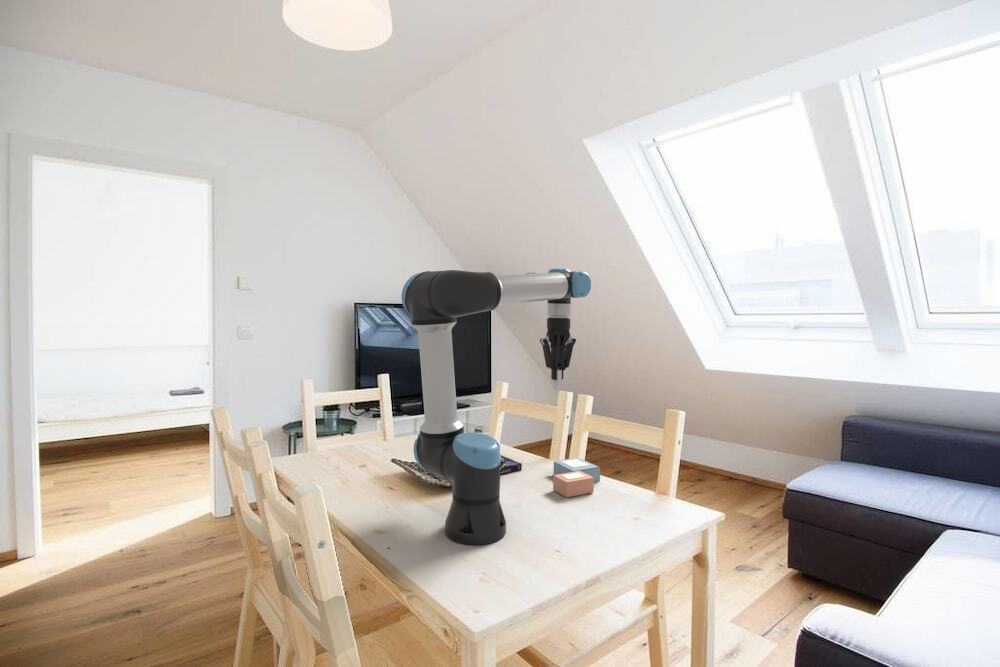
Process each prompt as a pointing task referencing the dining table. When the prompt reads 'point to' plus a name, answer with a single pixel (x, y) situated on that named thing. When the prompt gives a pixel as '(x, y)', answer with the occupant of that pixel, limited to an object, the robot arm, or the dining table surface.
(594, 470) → the white-topped blue block
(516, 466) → the box
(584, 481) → the white-topped pink block
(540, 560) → the dining table surface
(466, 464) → the robot arm
